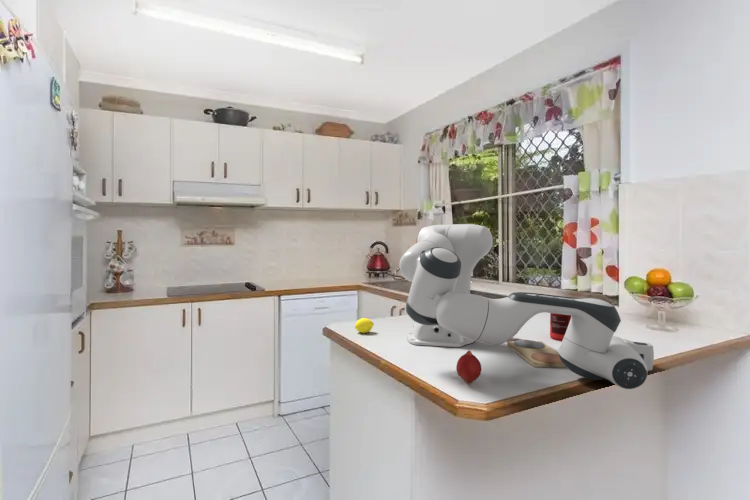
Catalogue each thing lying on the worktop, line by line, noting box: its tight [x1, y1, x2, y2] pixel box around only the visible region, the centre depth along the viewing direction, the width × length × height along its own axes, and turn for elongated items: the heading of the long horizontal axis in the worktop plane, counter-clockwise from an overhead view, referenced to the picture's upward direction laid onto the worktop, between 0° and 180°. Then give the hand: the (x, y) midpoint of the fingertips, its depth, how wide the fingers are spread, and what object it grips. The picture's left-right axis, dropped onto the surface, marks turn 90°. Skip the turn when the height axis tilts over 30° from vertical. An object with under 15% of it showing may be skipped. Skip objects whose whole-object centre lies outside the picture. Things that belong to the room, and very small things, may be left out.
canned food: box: [549, 313, 571, 342], centre depth 138 cm, size 8×8×11 cm
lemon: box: [354, 317, 375, 334], centre depth 146 cm, size 7×5×5 cm
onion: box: [455, 350, 482, 385], centre depth 96 cm, size 6×6×8 cm
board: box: [506, 339, 567, 368], centre depth 119 cm, size 11×23×2 cm, turn 0°
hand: (603, 341), depth 116 cm, fingers open, 8 cm apart
